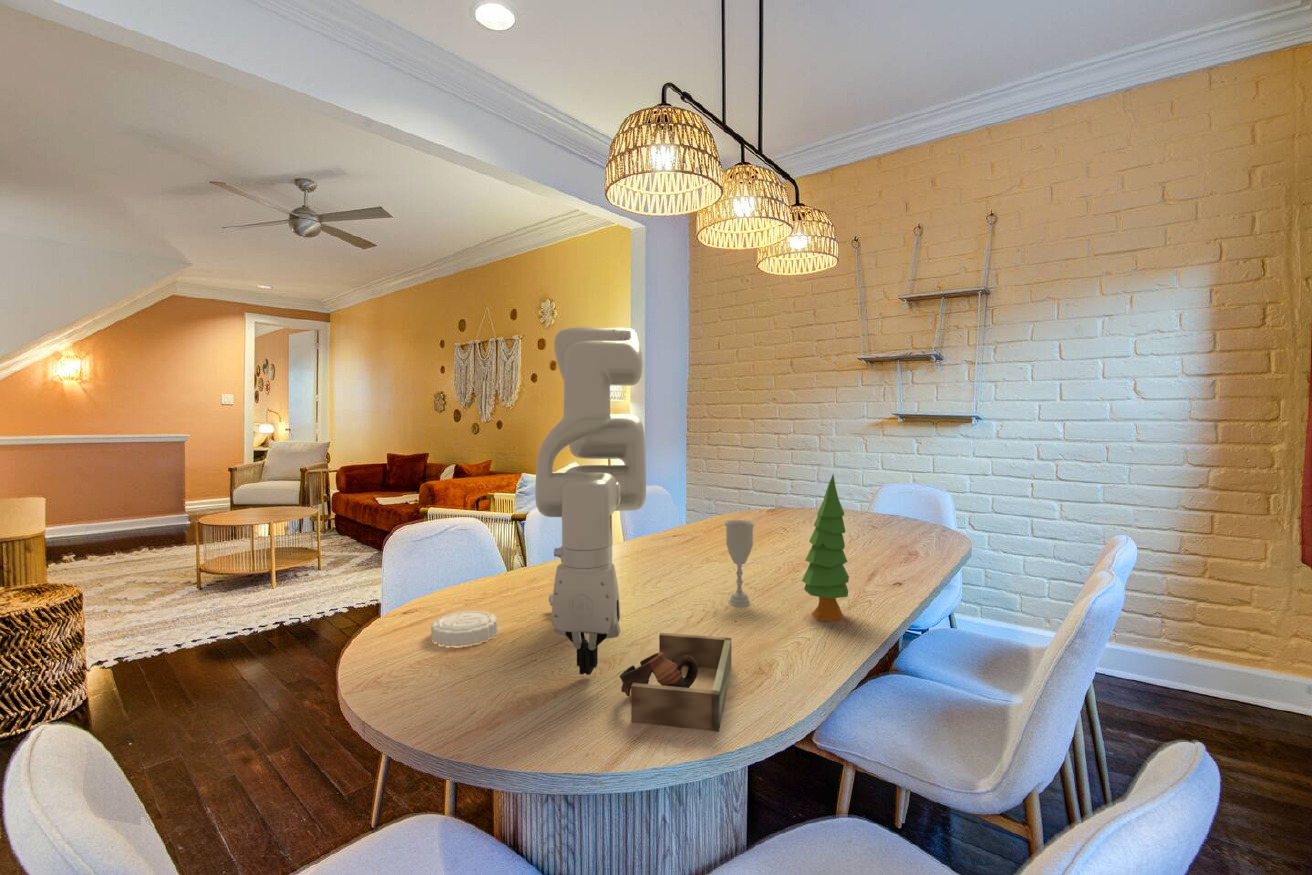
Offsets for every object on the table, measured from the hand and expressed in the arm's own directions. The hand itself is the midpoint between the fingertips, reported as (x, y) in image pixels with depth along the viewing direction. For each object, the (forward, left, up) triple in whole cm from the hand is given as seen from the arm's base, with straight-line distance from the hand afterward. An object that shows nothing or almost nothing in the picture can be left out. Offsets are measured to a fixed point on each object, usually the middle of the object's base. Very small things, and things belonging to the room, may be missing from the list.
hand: (587, 670), depth 93 cm
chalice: (+21, +43, -2) cm, 48 cm away
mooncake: (-29, +13, -2) cm, 32 cm away
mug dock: (+16, -1, -1) cm, 16 cm away
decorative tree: (+39, +38, -2) cm, 54 cm away
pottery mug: (+13, -5, -2) cm, 14 cm away
